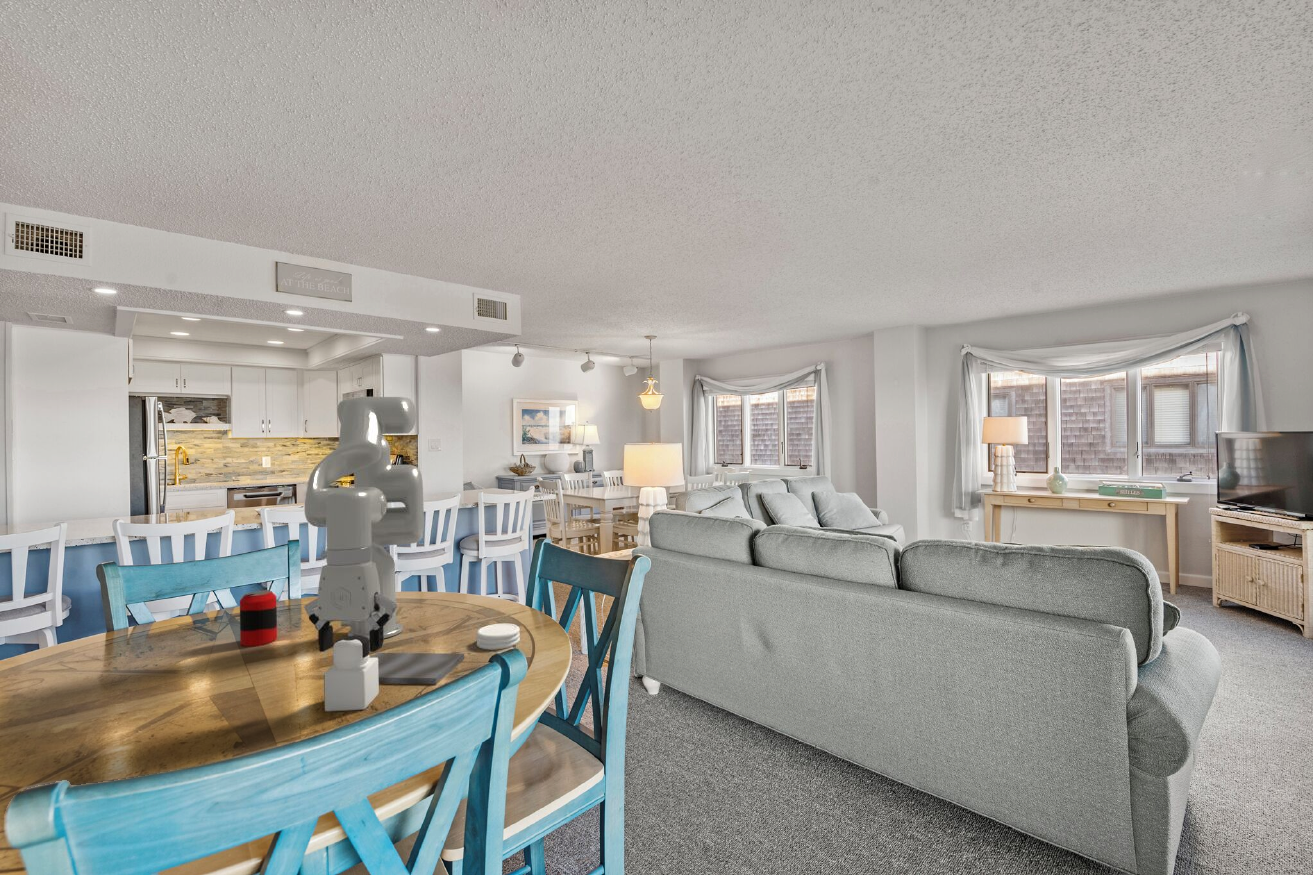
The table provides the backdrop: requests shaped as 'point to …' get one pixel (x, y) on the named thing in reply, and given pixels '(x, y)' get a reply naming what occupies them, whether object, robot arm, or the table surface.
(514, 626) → the coaster
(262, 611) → the soda can
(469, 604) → the table surface
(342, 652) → the medicine bottle
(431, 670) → the charcoal board
